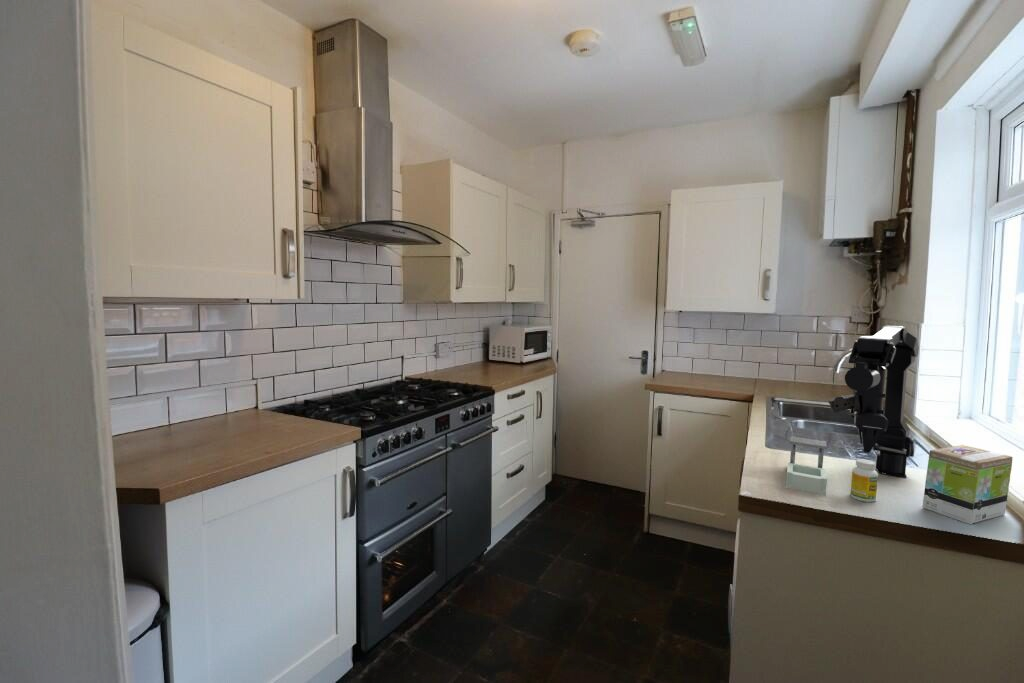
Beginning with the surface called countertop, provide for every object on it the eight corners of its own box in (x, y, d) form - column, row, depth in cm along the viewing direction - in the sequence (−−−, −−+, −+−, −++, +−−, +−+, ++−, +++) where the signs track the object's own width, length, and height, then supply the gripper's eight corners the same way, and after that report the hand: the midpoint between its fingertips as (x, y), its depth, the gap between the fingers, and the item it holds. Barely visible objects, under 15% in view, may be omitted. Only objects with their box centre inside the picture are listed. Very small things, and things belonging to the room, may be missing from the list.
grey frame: (823, 469, 140) (825, 441, 140) (824, 475, 135) (826, 446, 135) (788, 463, 145) (790, 436, 144) (787, 468, 140) (789, 441, 139)
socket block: (823, 472, 140) (824, 459, 140) (826, 495, 123) (827, 480, 123) (788, 466, 145) (789, 453, 145) (785, 487, 128) (786, 473, 128)
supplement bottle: (855, 492, 126) (858, 456, 125) (879, 499, 122) (882, 462, 121) (846, 496, 123) (849, 460, 122) (870, 504, 119) (874, 466, 118)
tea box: (973, 526, 108) (980, 462, 106) (920, 508, 117) (926, 449, 116) (1007, 515, 114) (1014, 454, 112) (954, 499, 123) (960, 442, 122)
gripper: (830, 378, 132) (825, 434, 134) (833, 388, 116) (828, 451, 118) (880, 383, 126) (875, 441, 128) (891, 394, 111) (885, 459, 112)
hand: (864, 447), depth 121 cm, fingers open, 9 cm apart
